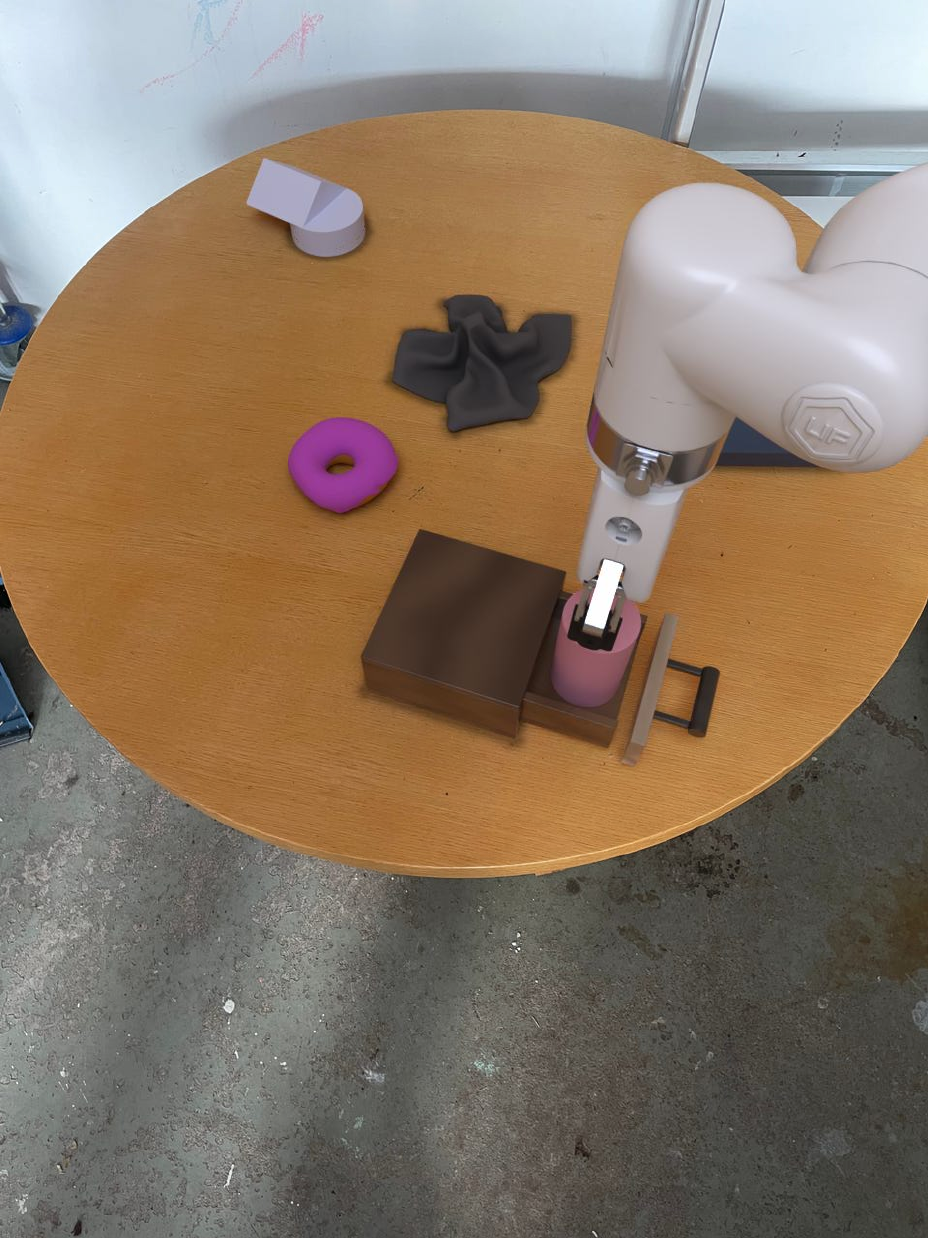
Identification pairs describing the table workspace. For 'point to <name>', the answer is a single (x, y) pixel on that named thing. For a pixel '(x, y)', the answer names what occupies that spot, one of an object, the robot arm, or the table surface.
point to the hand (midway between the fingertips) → (607, 585)
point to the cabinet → (462, 631)
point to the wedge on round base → (310, 208)
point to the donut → (342, 445)
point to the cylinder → (592, 658)
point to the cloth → (482, 361)
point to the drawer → (602, 720)
